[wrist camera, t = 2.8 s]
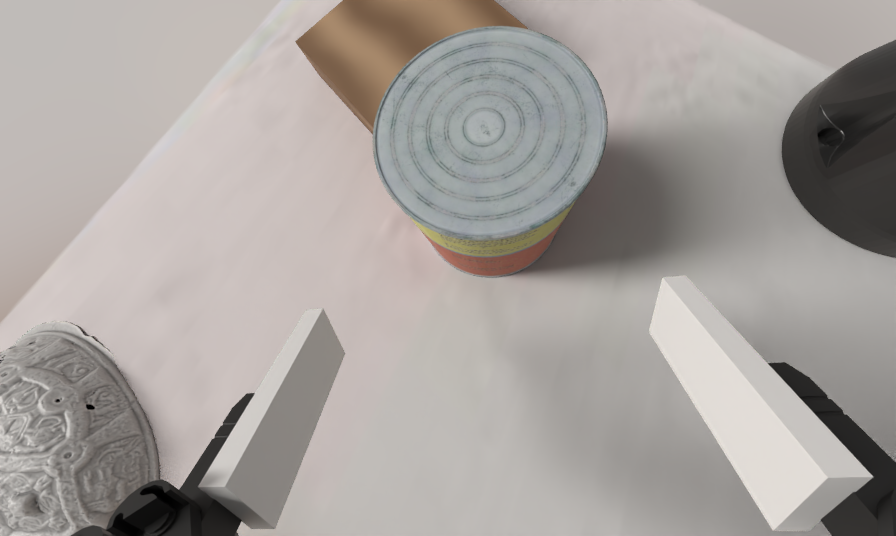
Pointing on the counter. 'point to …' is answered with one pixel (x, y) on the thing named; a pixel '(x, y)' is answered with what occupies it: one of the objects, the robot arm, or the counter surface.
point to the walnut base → (386, 42)
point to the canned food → (490, 144)
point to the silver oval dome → (67, 434)
